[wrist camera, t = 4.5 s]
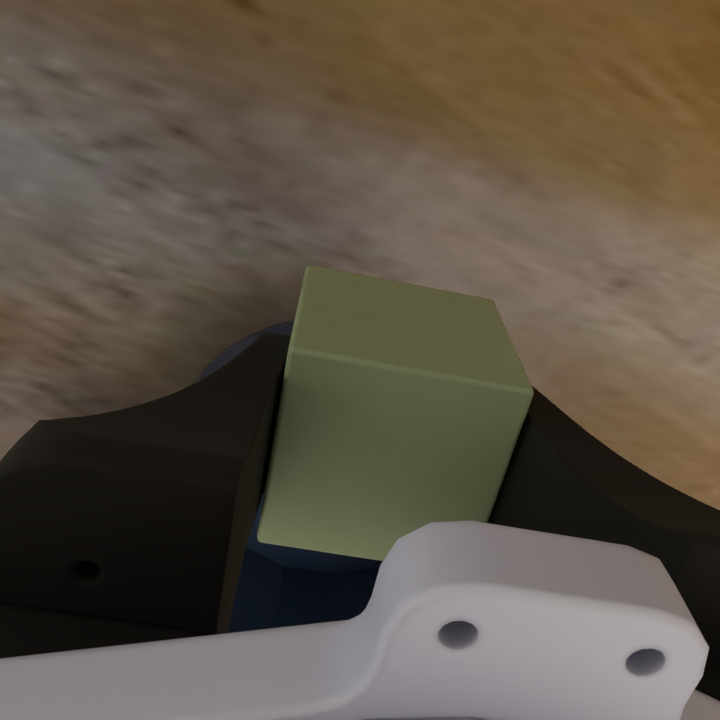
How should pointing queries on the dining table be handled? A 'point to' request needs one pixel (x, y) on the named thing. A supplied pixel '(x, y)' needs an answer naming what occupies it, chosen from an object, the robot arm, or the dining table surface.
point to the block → (389, 414)
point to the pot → (293, 566)
